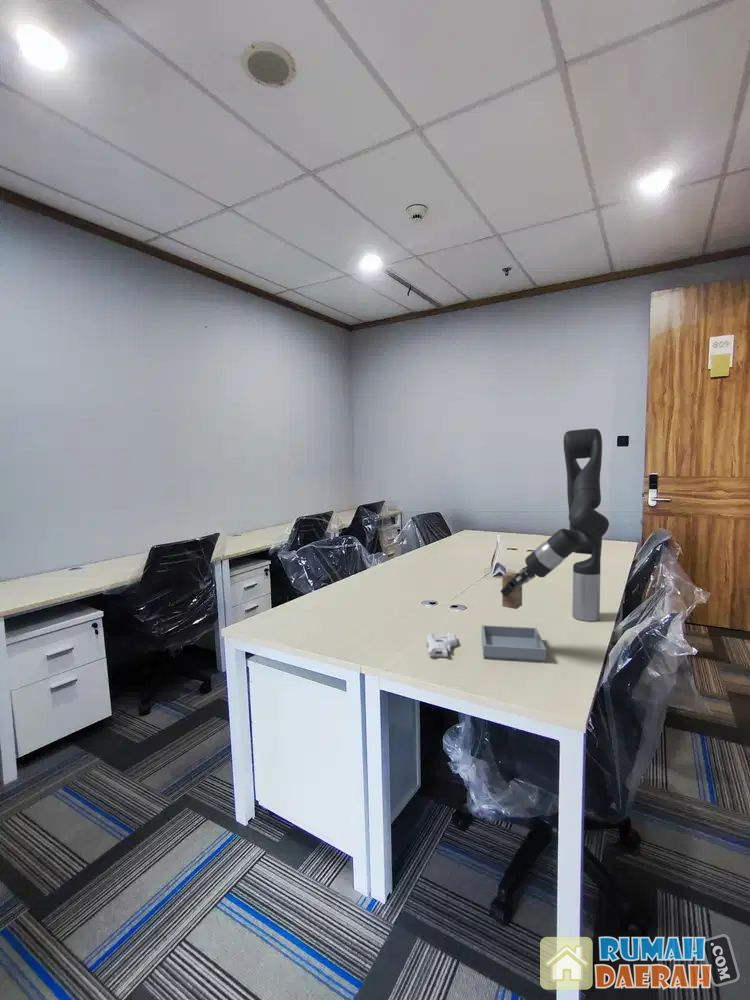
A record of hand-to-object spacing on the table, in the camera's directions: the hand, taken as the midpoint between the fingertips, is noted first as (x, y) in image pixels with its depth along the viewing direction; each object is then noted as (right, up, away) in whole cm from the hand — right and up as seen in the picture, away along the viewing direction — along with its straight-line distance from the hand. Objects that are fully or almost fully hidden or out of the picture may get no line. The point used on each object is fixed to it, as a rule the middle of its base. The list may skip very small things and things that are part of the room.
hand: (506, 591), depth 143 cm
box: (+2, -18, 0) cm, 18 cm away
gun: (-20, -19, +2) cm, 27 cm away
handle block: (+2, -4, -1) cm, 5 cm away
